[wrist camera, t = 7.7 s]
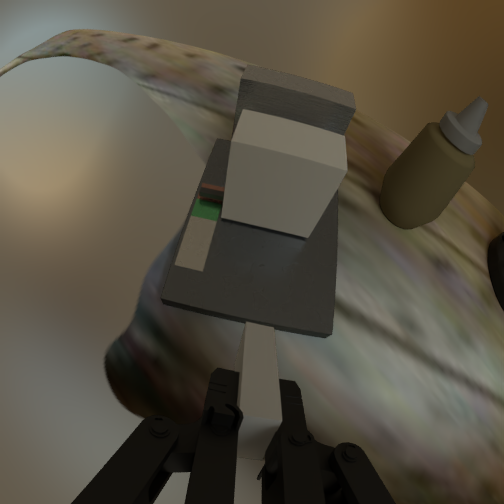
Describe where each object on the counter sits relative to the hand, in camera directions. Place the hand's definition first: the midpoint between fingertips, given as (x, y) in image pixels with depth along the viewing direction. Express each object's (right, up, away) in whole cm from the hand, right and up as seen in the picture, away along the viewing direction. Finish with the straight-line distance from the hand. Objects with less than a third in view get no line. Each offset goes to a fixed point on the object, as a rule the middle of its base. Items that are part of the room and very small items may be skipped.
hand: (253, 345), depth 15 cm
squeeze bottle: (+18, +10, +18) cm, 27 cm away
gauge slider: (0, +10, +13) cm, 16 cm away
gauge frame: (+1, +7, +13) cm, 15 cm away
